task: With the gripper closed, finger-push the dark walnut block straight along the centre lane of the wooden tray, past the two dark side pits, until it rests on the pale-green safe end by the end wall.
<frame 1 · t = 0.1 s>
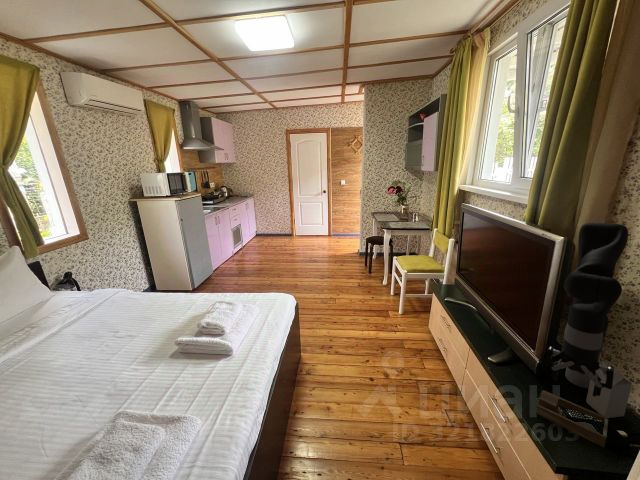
hand: (573, 386, 78), 29 cm above the tv stand, fingers open, 8 cm apart
wooden tray: (569, 420, 97), on the tv stand
milk carton: (604, 409, 100), on the tv stand
walnut block: (547, 406, 102), point 1 cm above the tv stand, touching wooden tray
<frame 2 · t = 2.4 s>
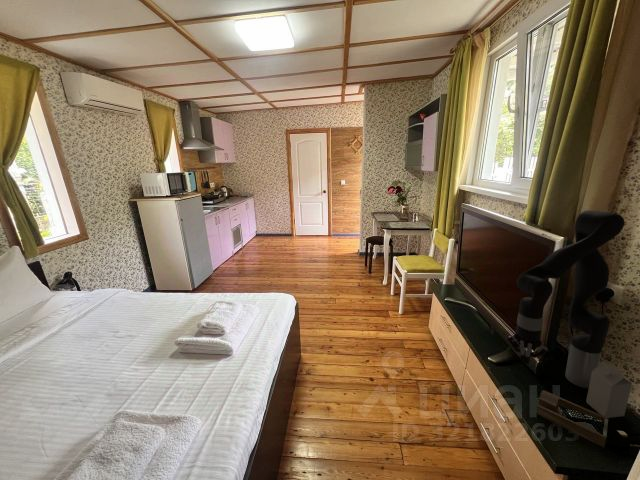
hand: (524, 362, 104), 17 cm above the tv stand, fingers closed
nothing on the tv stand moved.
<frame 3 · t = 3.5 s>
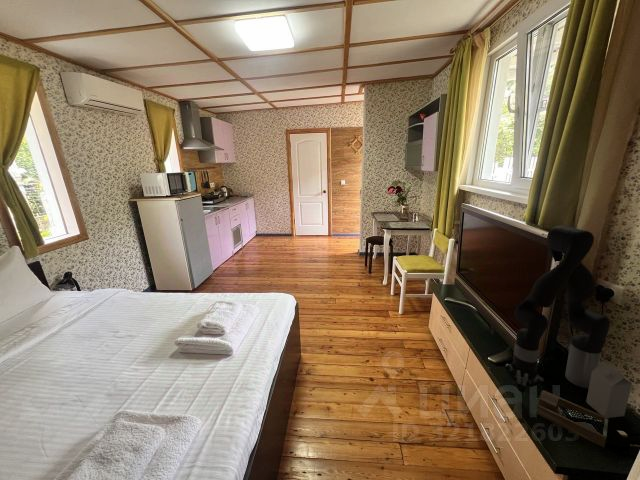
hand: (521, 390, 107), 4 cm above the tv stand, fingers closed
nothing on the tv stand moved.
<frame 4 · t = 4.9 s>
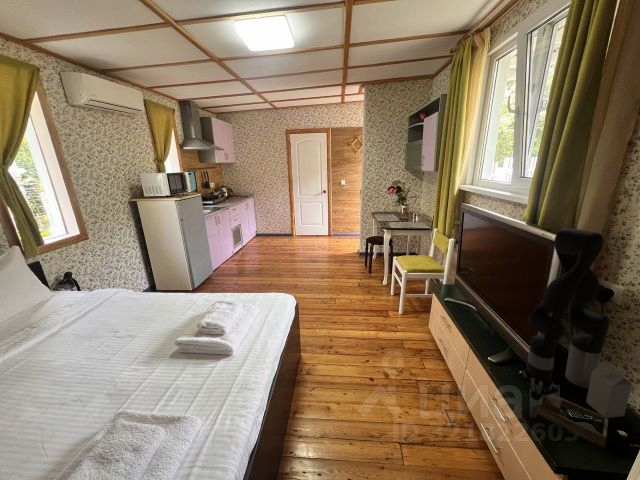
hand: (535, 398, 104), 3 cm above the tv stand, fingers closed
walnut block: (550, 408, 101), point 1 cm above the tv stand, touching gripper, wooden tray
everything else where it was.
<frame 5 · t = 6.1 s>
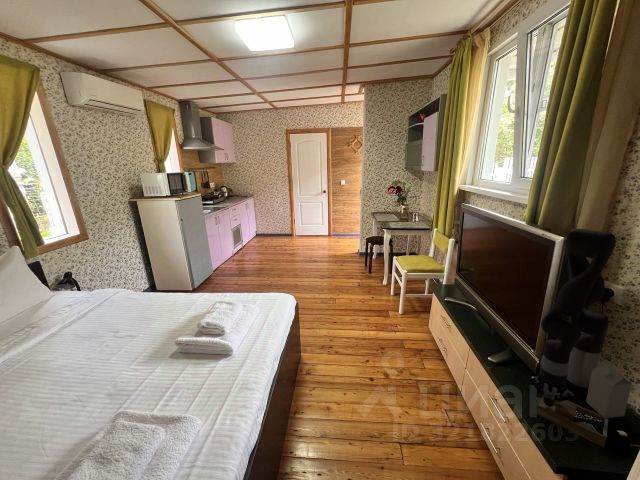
hand: (548, 404, 101), 3 cm above the tv stand, fingers closed
walnut block: (564, 415, 98), point 2 cm above the tv stand, touching gripper
everything else where it was.
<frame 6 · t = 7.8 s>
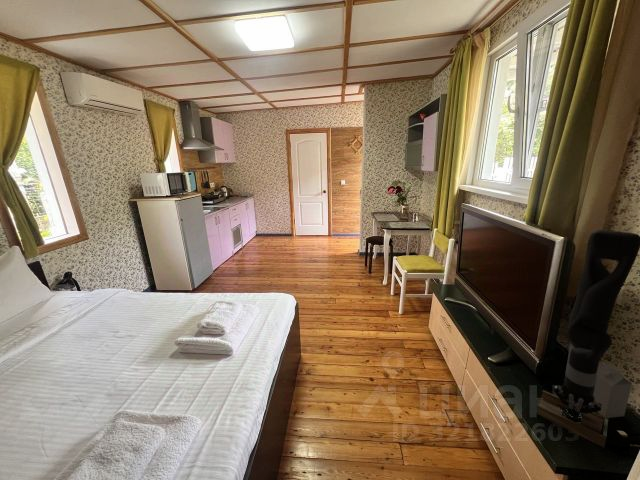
hand: (572, 416, 96), 3 cm above the tv stand, fingers closed
walnut block: (590, 428, 92), point 1 cm above the tv stand, touching gripper, wooden tray
everything else where it was.
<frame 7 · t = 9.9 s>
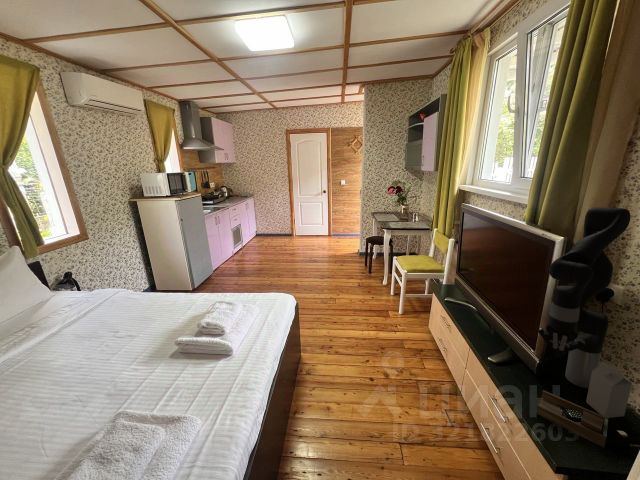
hand: (557, 356, 96), 24 cm above the tv stand, fingers closed
walnut block: (590, 428, 92), point 1 cm above the tv stand, touching wooden tray
everything else where it was.
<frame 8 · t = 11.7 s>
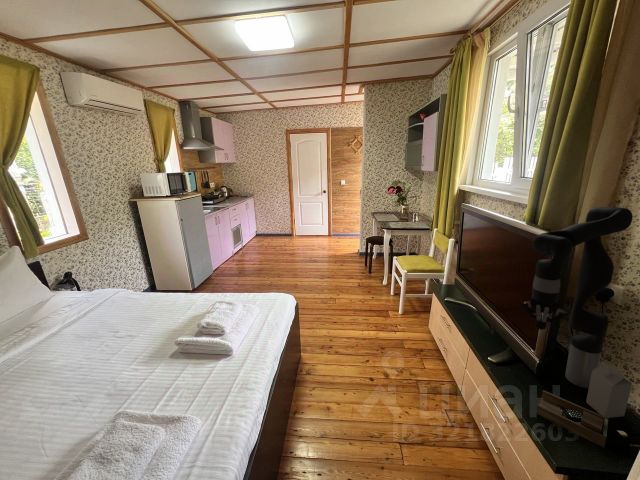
hand: (540, 328, 100), 32 cm above the tv stand, fingers closed
nothing on the tv stand moved.
at the end: walnut block 1.0 cm from the target spot on the wooden tray, point 1.5 cm above the wooden tray's base; walnut block tilted 0° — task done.
